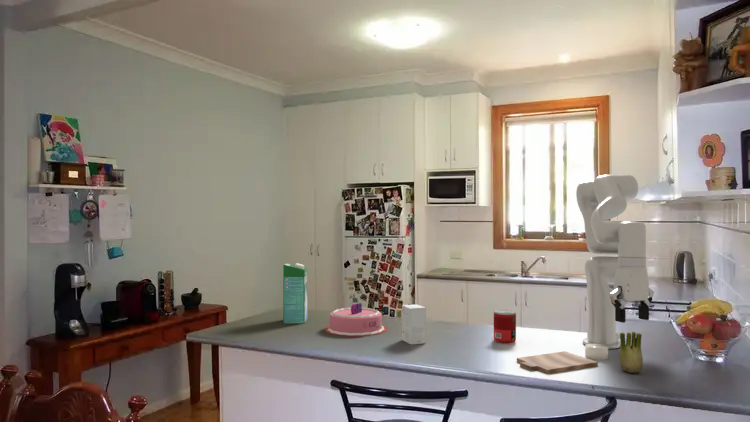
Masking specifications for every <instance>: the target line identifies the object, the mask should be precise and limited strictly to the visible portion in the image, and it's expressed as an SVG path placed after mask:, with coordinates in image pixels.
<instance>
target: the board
mask: <svg viewBox="0 0 750 422" xmlns="http://www.w3.org/2000/svg"><path fill="white" fill-rule="evenodd" d="M516 363H519V367H521V368H523V369H525V370H528V371H531V372H532V371H540V372H542V373H545V374H549V375H550V374H555V373H562V372H567V371H574V370H579V369H580V370H582V369H586V368H591V367H598V365H599V362H598V361H596V360H594V359H590V358H587V357H585V356H584V357H583V356H580V355H578V354H574V353H570V352H568V351H557V352H551V353H550V352H549V353H544V354H536V355H529V356H523V357H517V358H516Z"/></svg>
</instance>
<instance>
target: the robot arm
mask: <svg viewBox="0 0 750 422" xmlns="http://www.w3.org/2000/svg"><path fill="white" fill-rule="evenodd" d="M575 192H576V193H575V195H576V202H577V205H578V208H579V211H580V212H581V215H582V218H583V221H584V222H583V223H584V234H585V241H586V247H587V250H588V251H589V253H591V254H594V255H597V256H592V257H590V258H588V259H587V260H586V261H585V264H584V274H585V278H586V289H587V290H586V292H587V293H586V294H587V299H586V300H587V303H586V304H587V310H586V311H587V324H586V326H587V329H586V331H587V332H586V334H587V337H585V338H584V339H582V344H583V345H584V346H585V345H586V344H601V345H605V346H608V350H610V349H611V350H612V349H618V348H619V349H620V341H619V340H620V333H624V332H618V331H617V322H618V323H623V324H624V323H626V318H627V317H626V316H627V315H626V314H627V313H626V308H625V306H626V305H627V303H634V302H635V303H636V302H638V303H639V305H638V306H637V307H638V319H639V320H642V321H643V320H644V321H650V307H651V305H652V301H653V297H654V294H655V291H654V290H652V289H651V288H650V287H649V285H650V283H649V275H648V270H647V235H646V234H647V229H646V225H645V223H644V222H642V221H635V220H610V219H613V218H616V217H618V216H620V215H623V213H624V212H625V211H626V209H627V206H628V202H629V201H632V200H633V199H635V198H636V197H637V195H638V192H639V183H638V180H637V179H636V177H634V176H633V175H631V174H629V173H628V174H627V173H625V174H602V175H599V176H597V177H596V178H594V179H592V180H585V181H582V182H580V183H578V185H577V187H576V191H575ZM598 255H604V256H598ZM605 255H606V256H605ZM607 255H612V256H607ZM613 255H614V256H613ZM615 255H617V256H615ZM610 284H611V285H612V284H613V290H612V288H611V287H610Z"/></svg>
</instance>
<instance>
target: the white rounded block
mask: <svg viewBox="0 0 750 422" xmlns="http://www.w3.org/2000/svg"><path fill="white" fill-rule="evenodd" d="M584 349H585V350H584V351H585V353H584V354H585V355H584V357H585V358H587V359H590V360H595V361H596V360H597V361H598V360H600V361H601V360H602V361H605V360H608V359H609V349H608V346H605V345H601V344H586V345H585V344H584Z"/></svg>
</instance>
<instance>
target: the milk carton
mask: <svg viewBox="0 0 750 422" xmlns="http://www.w3.org/2000/svg"><path fill="white" fill-rule="evenodd" d="M282 273H283V275H282V276H283V277H282V279H283V280H282V281H283V283H282V285H283V287H282V288H283V289H282V290H283V293H282V295H283V296H282V297H283V299H282V300H283V302H282V303H283V306H282V308H283V310H282V311H283V315H282V316H283V318H282V319H283V321H282V323H283V324H305V323H306V322H307V320H308V267H305V264H301V263H298V262H297V263H295V264H294V263H290V262H286V263H284V264H283V271H282Z"/></svg>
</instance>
